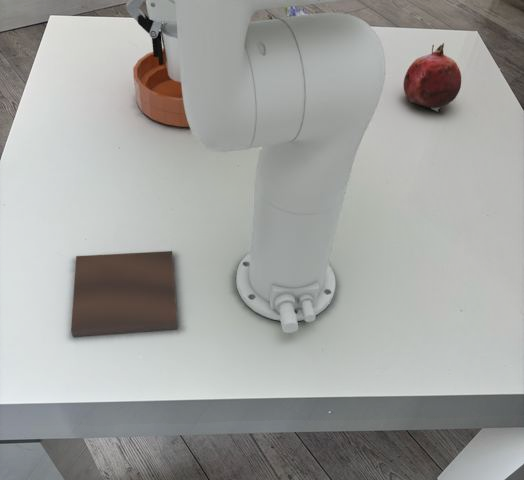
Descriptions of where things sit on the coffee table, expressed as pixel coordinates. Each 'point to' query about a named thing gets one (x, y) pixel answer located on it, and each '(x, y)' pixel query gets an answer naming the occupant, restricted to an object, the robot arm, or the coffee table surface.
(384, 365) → the coffee table surface
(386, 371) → the coffee table surface
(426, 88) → the fruit
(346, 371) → the coffee table surface
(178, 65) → the white cup
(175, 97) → the bowl
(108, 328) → the pad
